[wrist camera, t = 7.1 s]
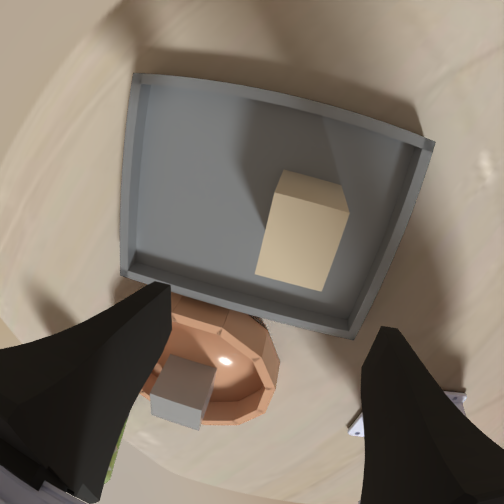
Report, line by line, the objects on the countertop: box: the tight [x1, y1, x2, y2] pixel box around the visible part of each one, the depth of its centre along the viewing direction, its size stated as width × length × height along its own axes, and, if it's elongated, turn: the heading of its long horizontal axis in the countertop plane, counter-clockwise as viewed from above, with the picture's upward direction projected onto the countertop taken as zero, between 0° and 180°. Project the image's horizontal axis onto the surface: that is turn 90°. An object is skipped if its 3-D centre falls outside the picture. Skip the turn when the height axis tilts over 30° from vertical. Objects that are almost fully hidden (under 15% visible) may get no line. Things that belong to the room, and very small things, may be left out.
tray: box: [120, 73, 436, 340], centre depth 18 cm, size 16×13×2 cm
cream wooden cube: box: [255, 170, 350, 292], centre depth 16 cm, size 4×3×4 cm
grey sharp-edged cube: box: [150, 354, 217, 431], centre depth 24 cm, size 4×3×4 cm
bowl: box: [139, 292, 280, 425], centre depth 24 cm, size 12×12×3 cm
